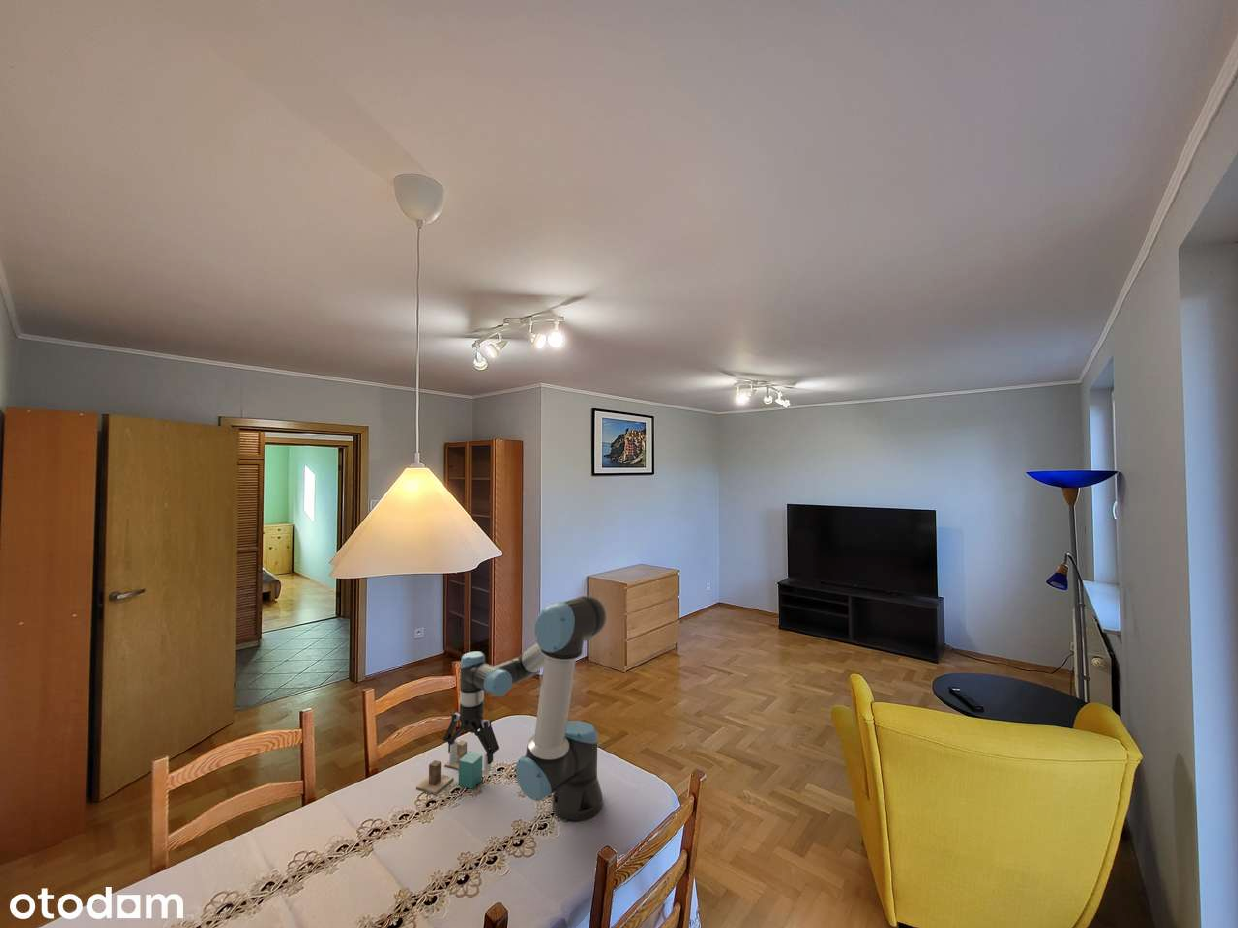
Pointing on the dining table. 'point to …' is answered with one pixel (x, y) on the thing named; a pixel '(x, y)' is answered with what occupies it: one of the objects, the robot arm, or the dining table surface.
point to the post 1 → (434, 779)
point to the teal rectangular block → (470, 769)
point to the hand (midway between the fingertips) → (470, 768)
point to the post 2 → (459, 754)
